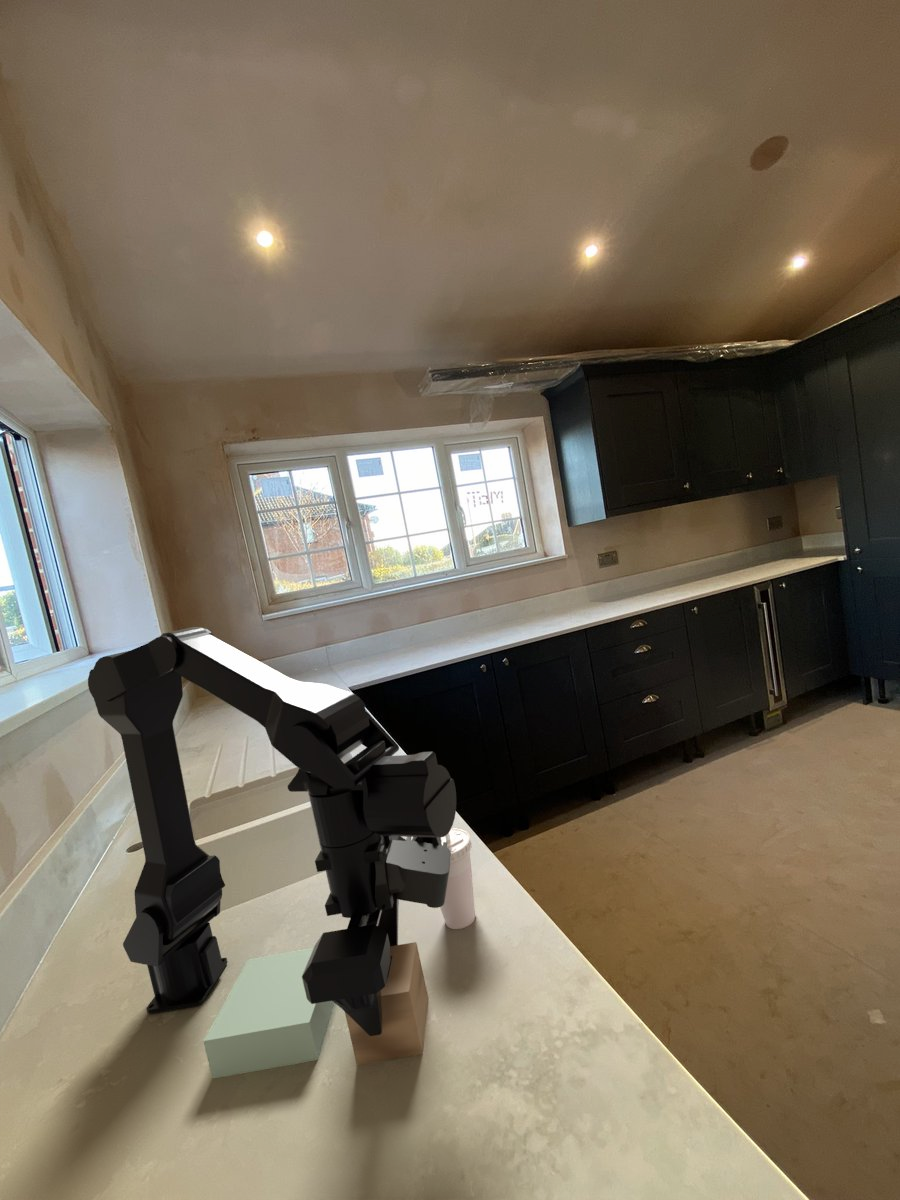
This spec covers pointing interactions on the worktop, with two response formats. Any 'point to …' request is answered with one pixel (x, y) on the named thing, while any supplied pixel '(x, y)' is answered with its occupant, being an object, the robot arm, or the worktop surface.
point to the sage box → (267, 1018)
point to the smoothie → (459, 881)
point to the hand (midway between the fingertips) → (385, 989)
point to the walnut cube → (396, 1012)
